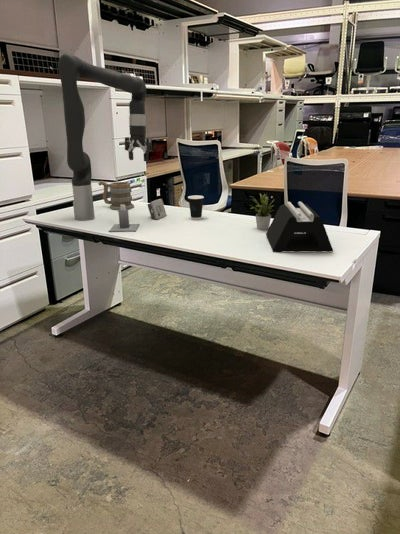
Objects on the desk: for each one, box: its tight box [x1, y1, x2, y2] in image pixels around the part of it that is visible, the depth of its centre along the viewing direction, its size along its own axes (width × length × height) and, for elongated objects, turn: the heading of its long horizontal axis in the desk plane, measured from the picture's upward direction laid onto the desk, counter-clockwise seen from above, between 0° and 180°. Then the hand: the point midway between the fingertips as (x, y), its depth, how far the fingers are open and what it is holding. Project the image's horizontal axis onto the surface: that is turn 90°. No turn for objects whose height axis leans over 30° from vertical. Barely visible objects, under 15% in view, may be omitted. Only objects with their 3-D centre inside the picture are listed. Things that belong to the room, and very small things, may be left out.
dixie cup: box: [187, 195, 205, 221], centre depth 208 cm, size 8×8×11 cm
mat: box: [108, 223, 140, 233], centre depth 194 cm, size 12×12×1 cm
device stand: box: [265, 201, 334, 253], centre depth 165 cm, size 22×22×15 cm
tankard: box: [98, 180, 135, 211], centre depth 236 cm, size 20×13×15 cm, turn 69°
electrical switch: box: [147, 198, 167, 221], centre depth 212 cm, size 9×5×9 cm, turn 152°
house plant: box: [249, 193, 276, 231], centre depth 188 cm, size 14×14×16 cm
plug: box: [117, 205, 130, 228], centre depth 192 cm, size 4×4×10 cm
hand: (138, 160), depth 198 cm, fingers open, 8 cm apart
